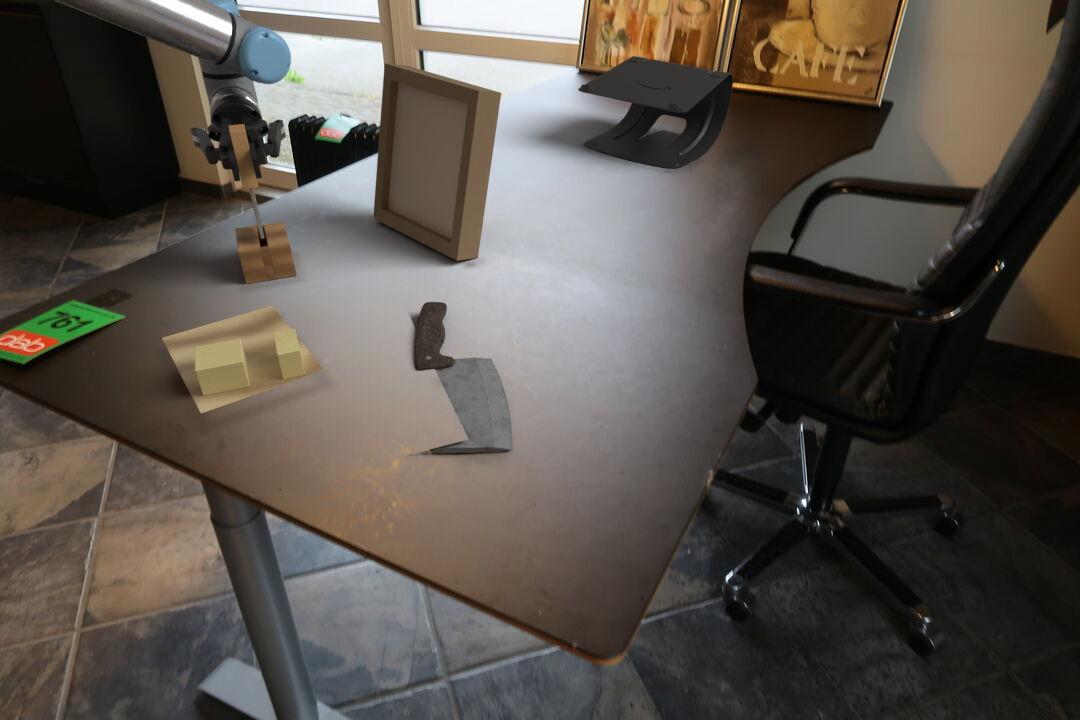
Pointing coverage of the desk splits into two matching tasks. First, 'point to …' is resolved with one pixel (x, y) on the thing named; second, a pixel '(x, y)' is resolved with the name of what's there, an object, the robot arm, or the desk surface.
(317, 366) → the board
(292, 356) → the block
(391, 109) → the photo frame
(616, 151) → the laptop stand
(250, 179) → the knife
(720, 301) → the desk surface
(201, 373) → the butter
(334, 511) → the desk surface
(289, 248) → the knife block
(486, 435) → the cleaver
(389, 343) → the desk surface
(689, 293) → the desk surface
